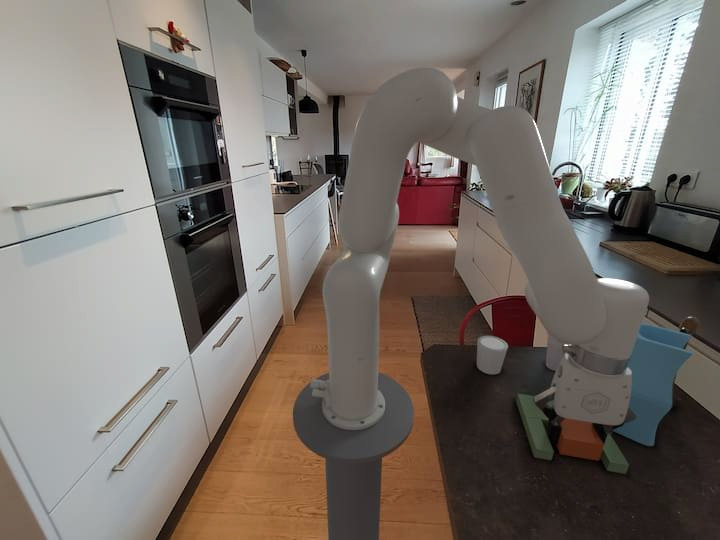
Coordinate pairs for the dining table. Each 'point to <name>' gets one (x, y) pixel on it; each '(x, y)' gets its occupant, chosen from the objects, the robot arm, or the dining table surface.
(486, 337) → the shot glass
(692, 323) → the wooden tabletop sculpture
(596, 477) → the dining table surface
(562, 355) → the smoothie
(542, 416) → the green flat bent piece
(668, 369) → the vase
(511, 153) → the robot arm
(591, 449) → the orange block
